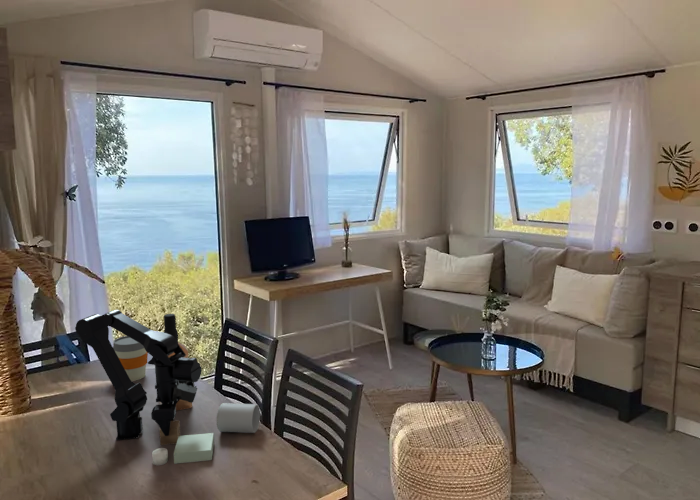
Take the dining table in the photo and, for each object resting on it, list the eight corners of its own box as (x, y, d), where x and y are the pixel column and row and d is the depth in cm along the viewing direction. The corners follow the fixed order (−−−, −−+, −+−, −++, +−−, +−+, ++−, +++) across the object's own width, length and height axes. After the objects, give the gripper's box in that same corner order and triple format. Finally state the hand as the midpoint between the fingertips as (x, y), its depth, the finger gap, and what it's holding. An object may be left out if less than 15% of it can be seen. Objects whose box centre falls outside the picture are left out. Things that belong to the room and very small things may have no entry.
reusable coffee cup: (132, 385, 207) (129, 346, 205) (108, 379, 212) (105, 342, 210) (157, 373, 218) (154, 336, 216) (133, 368, 224) (130, 333, 221)
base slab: (174, 463, 152) (173, 453, 152) (179, 445, 162) (178, 436, 162) (211, 459, 154) (211, 449, 153) (214, 442, 164) (213, 432, 163)
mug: (214, 430, 165) (250, 432, 163) (218, 401, 168) (253, 402, 167) (227, 433, 176) (261, 434, 174) (231, 405, 179) (264, 406, 178)
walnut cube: (160, 445, 163) (159, 429, 162) (163, 437, 167) (162, 421, 167) (178, 443, 163) (177, 427, 163) (180, 435, 168) (179, 420, 167)
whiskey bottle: (193, 407, 187) (187, 316, 182) (162, 414, 183) (155, 320, 178) (187, 396, 196) (181, 309, 191) (158, 402, 192) (151, 312, 187)
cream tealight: (151, 466, 151) (150, 456, 151) (154, 458, 155) (153, 448, 155) (166, 464, 152) (166, 454, 151) (169, 457, 156) (168, 447, 155)
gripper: (190, 389, 155) (193, 440, 157) (197, 365, 173) (200, 412, 175) (149, 392, 153) (153, 444, 155) (160, 367, 171) (163, 415, 173)
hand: (169, 428), depth 165 cm, fingers open, 9 cm apart
